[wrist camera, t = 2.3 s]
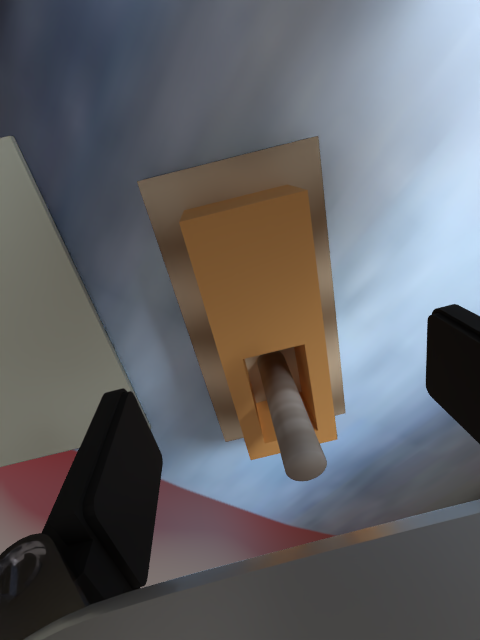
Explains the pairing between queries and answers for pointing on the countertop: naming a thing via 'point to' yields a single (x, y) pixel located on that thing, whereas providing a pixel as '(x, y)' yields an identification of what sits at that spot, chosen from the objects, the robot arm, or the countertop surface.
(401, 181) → the countertop surface
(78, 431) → the mat
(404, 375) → the countertop surface
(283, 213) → the link
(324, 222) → the peg base
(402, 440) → the countertop surface
